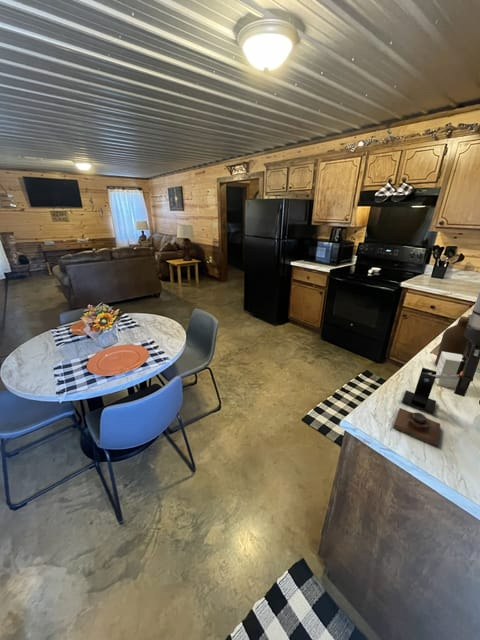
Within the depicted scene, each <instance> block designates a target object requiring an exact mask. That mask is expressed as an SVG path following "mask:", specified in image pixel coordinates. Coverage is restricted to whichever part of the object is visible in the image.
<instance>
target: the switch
mask: <svg viewBox="0 0 480 640" xmlns="http://www.w3.org/2000/svg"><path fill="white" fill-rule="evenodd" d="M423 373H426V374H429V375H432V372H423ZM462 373H463V371H462V372H461V373H460V375H462ZM432 376H435V377H436V378H435V379H459V378H460V377H458V375H432Z"/></svg>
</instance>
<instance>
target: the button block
mask: <svg viewBox="0 0 480 640" xmlns="http://www.w3.org/2000/svg"><path fill="white" fill-rule="evenodd" d="M414 413H415V412H413V411H409V410H407V409H404V408H401V407H399V409H398V411H397V414H396V416H395V420H394V422H393V425H392V428H393V429H396V430H398V431H399V432H402V433H405V434H407V435H409V436H411V437H413V438H416V439H418V440H420V441H423V442H424V443H427V444H429V445H432V446H434V447H437V446H438V443H439V437H440V428H441V423H440V422H437V421H436V420H435V421H434V420H432V419H430V418H427V417H426V421H425V424H419V423H416V422H415V421H413V419H412V417H413V414H414Z"/></svg>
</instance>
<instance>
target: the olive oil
mask: <svg viewBox="0 0 480 640" xmlns="http://www.w3.org/2000/svg"><path fill="white" fill-rule="evenodd" d="M469 319H470V318H469V317H468V316H464V315H463V316H462V315H461V316H459V319H458V320H457V324H455V325H452V326H450V327H448V328H447V329H446V330H445V331H444V332H443V334H442V336H441V340H440V345H439V348H438V351H437V355H436V359H435V362H434V365H435V366H436V367H437V365H438V362H439V359H440V356H441V353H442V351H443V352H448V353H454V354H461V355H463V353H464V351H465V349H466V346H467V342H468V341H469V339H467V338H466V337H465V336H464V332H465V329H466V327H467V325H469V323H468V322H469Z"/></svg>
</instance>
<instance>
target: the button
mask: <svg viewBox="0 0 480 640" xmlns="http://www.w3.org/2000/svg"><path fill="white" fill-rule="evenodd" d="M413 413H414V414H413V417H412V419H413V421H415V422H416V423H419V424H425V421H426V418H427V416H426V415H425V414H423V413H420V412H413Z"/></svg>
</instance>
